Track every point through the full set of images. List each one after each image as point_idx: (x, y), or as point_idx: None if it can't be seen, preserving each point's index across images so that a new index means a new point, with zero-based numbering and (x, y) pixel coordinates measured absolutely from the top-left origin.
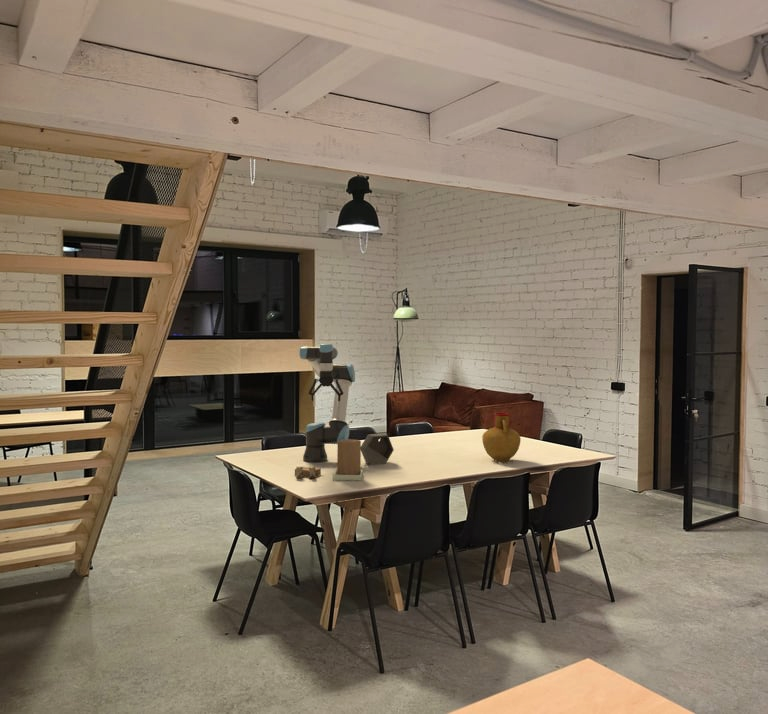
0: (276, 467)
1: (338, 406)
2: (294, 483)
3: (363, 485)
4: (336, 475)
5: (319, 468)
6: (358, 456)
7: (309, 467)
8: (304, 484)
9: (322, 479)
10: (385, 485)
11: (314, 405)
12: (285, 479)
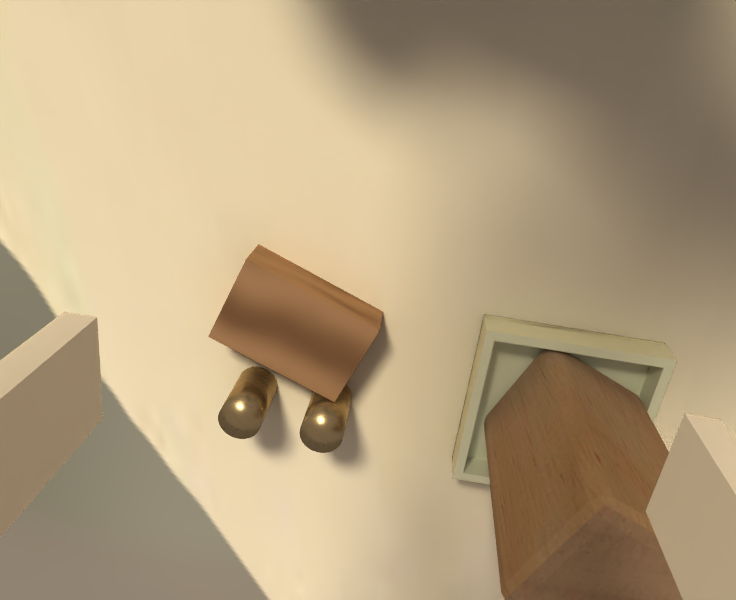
0: (44, 39)
1: (719, 433)
2: (246, 490)
3: None
4: (473, 480)
5: (370, 333)
6: None
7: (303, 435)
8: (299, 514)
9: (393, 427)
10: None
11: (79, 437)
12: (184, 405)
